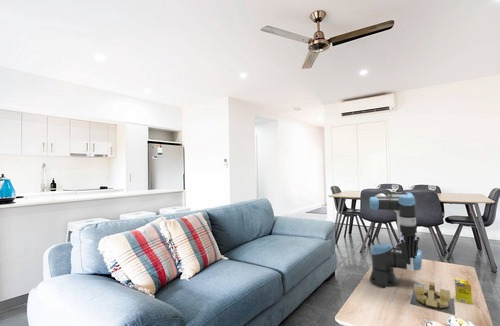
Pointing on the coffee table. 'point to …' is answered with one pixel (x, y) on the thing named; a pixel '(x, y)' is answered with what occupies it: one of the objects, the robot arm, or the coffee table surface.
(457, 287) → the supplement box
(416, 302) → the flange plate
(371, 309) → the coffee table surface
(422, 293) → the ring nut
